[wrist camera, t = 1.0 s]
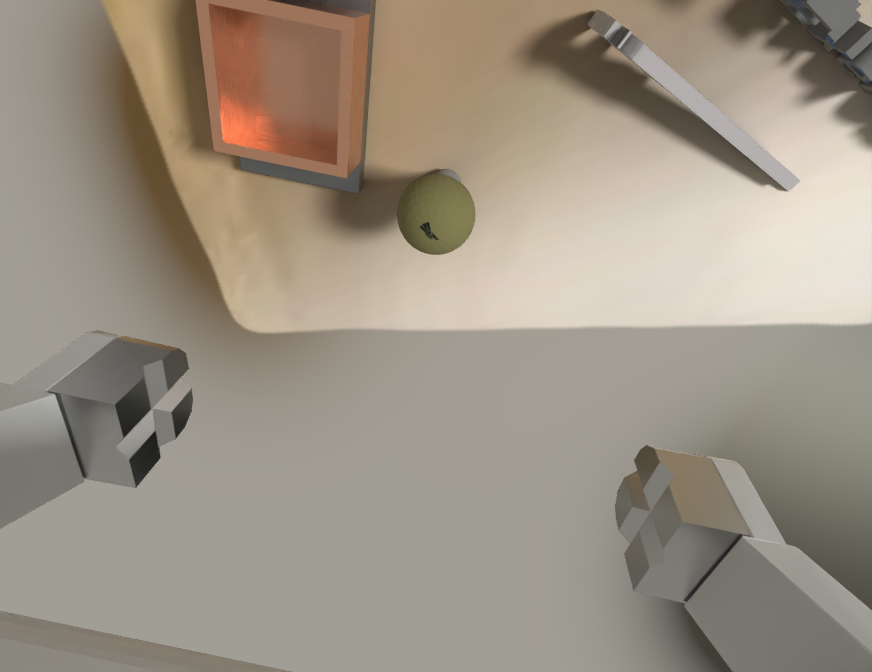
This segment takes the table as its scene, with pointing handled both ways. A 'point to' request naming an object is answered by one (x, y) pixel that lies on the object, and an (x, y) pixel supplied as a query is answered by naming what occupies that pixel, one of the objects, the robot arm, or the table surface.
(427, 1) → the table surface
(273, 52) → the desk organizer
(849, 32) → the block letters
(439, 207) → the light bulb
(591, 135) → the table surface
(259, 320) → the table surface
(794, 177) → the caliper
